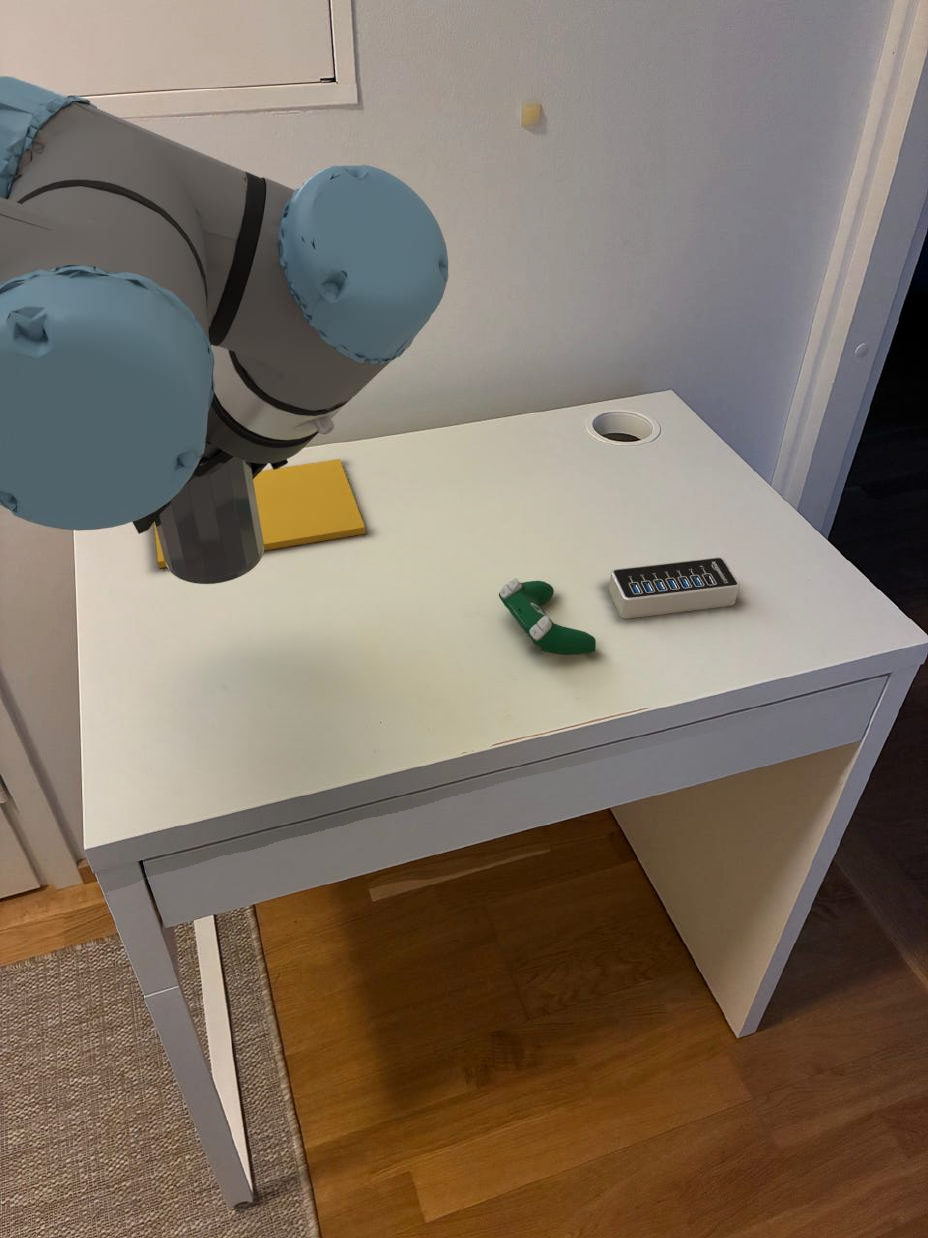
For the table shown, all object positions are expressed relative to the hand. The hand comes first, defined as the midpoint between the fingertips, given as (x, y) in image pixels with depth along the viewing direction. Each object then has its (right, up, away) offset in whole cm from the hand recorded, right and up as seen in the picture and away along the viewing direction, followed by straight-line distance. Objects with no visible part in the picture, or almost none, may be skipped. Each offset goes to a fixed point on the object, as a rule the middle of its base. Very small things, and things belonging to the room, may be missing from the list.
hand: (184, 495), depth 73 cm
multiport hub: (+40, -7, +16) cm, 44 cm away
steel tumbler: (+2, -4, 0) cm, 5 cm away
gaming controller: (+28, -11, +12) cm, 33 cm away
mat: (0, +1, +25) cm, 25 cm away
